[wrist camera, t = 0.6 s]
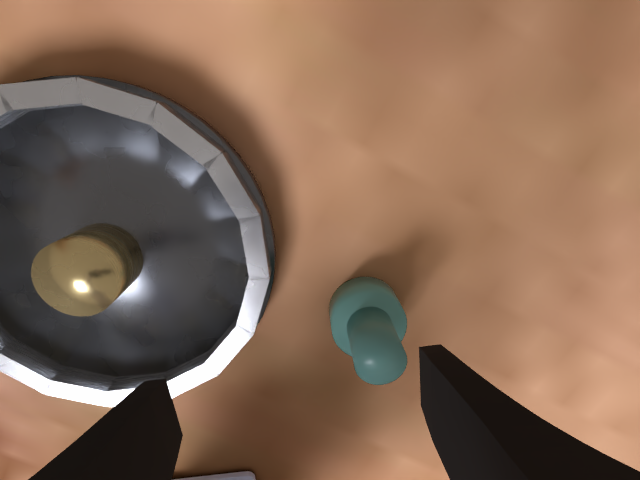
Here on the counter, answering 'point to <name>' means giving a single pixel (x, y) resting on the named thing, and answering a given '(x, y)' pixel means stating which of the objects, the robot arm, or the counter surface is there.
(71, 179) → the round metal bowl
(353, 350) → the teal mushroom knob
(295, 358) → the counter surface
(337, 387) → the counter surface
